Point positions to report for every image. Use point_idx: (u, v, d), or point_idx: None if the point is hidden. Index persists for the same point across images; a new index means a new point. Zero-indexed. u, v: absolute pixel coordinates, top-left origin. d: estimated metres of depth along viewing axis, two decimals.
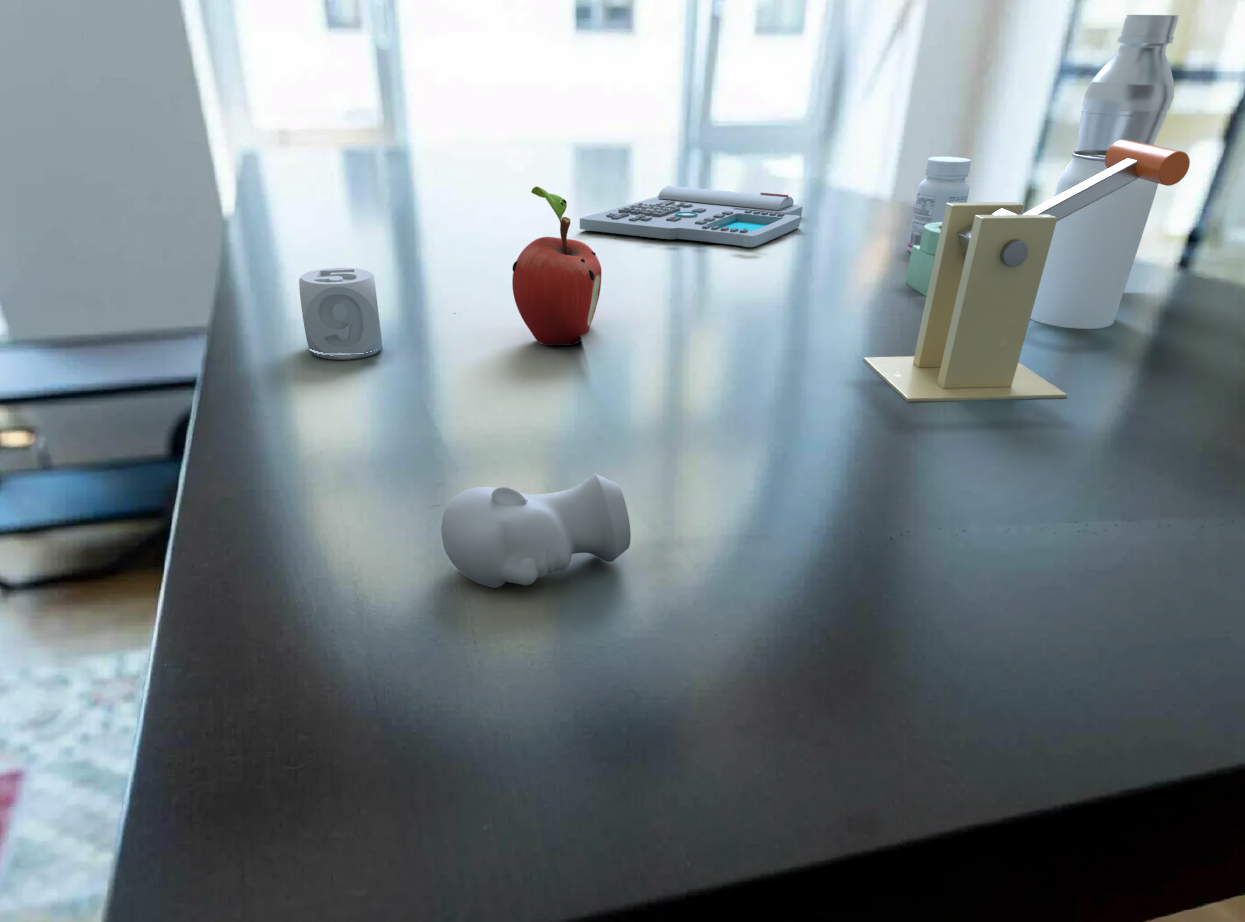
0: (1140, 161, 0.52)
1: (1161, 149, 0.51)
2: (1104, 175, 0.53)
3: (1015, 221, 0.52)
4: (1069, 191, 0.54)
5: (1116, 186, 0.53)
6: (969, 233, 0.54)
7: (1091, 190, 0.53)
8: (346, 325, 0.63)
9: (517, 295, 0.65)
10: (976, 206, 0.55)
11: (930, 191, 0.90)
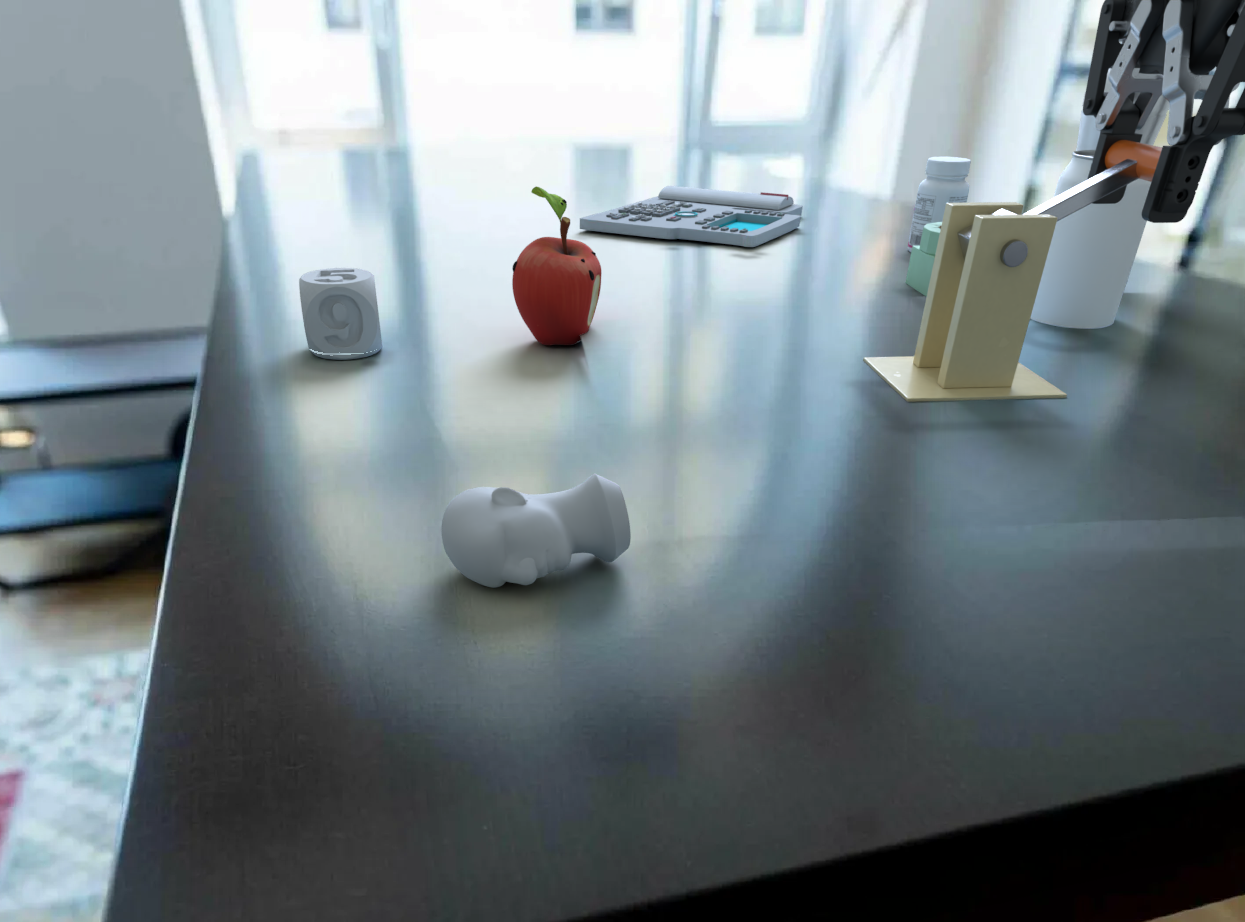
0: (1140, 161, 0.52)
1: (1161, 149, 0.51)
2: (1104, 175, 0.53)
3: (1015, 221, 0.52)
4: (1069, 191, 0.54)
5: (1116, 186, 0.53)
6: (969, 233, 0.54)
7: (1091, 190, 0.53)
8: (346, 325, 0.63)
9: (517, 295, 0.65)
10: (976, 206, 0.55)
11: (930, 191, 0.90)
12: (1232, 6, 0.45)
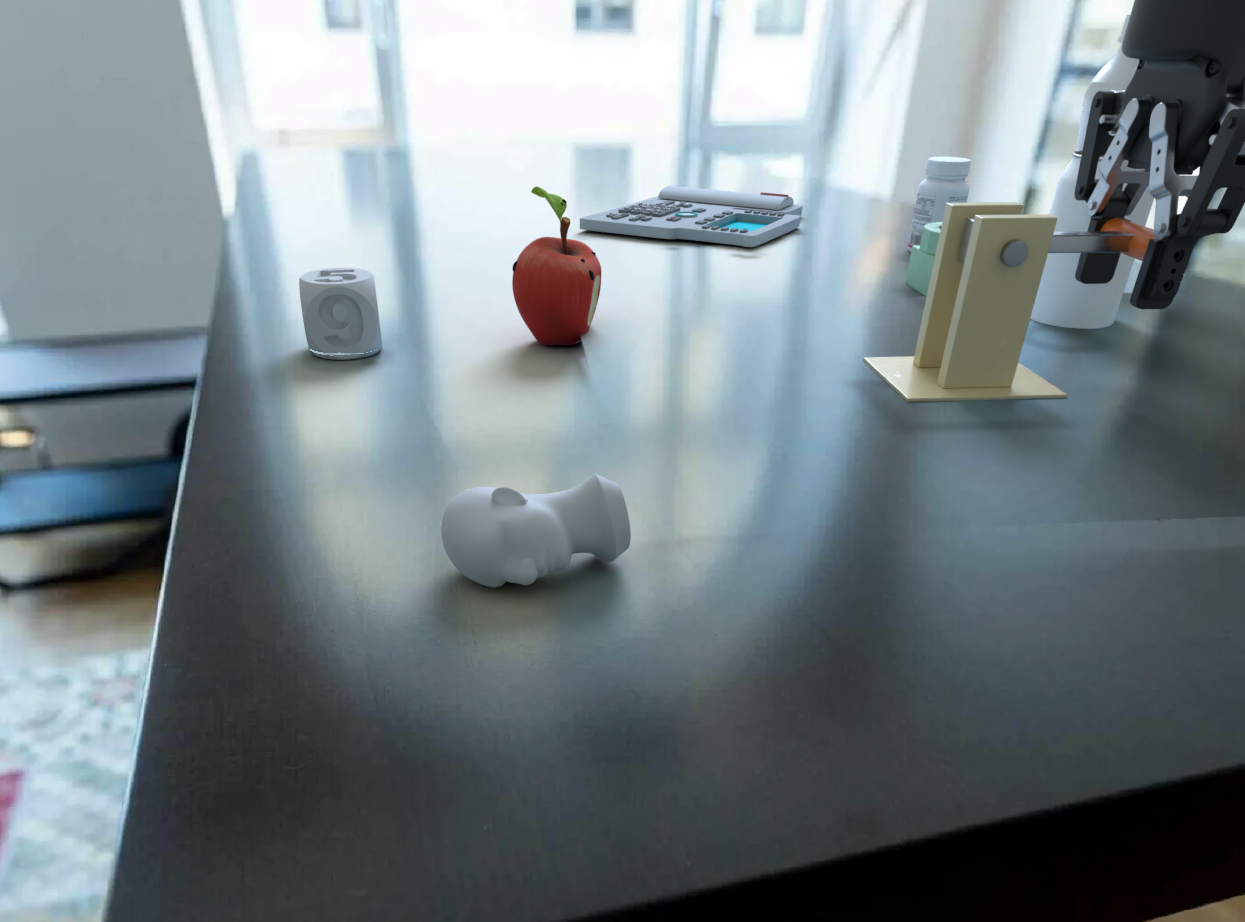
0: (1137, 235, 0.54)
1: None
2: (1103, 233, 0.55)
3: (1015, 221, 0.52)
4: (1071, 232, 0.55)
5: (1108, 248, 0.55)
6: None
7: (1089, 240, 0.55)
8: (346, 325, 0.63)
9: (517, 295, 0.65)
10: (976, 206, 0.55)
11: (930, 191, 0.90)
12: (1214, 116, 0.48)
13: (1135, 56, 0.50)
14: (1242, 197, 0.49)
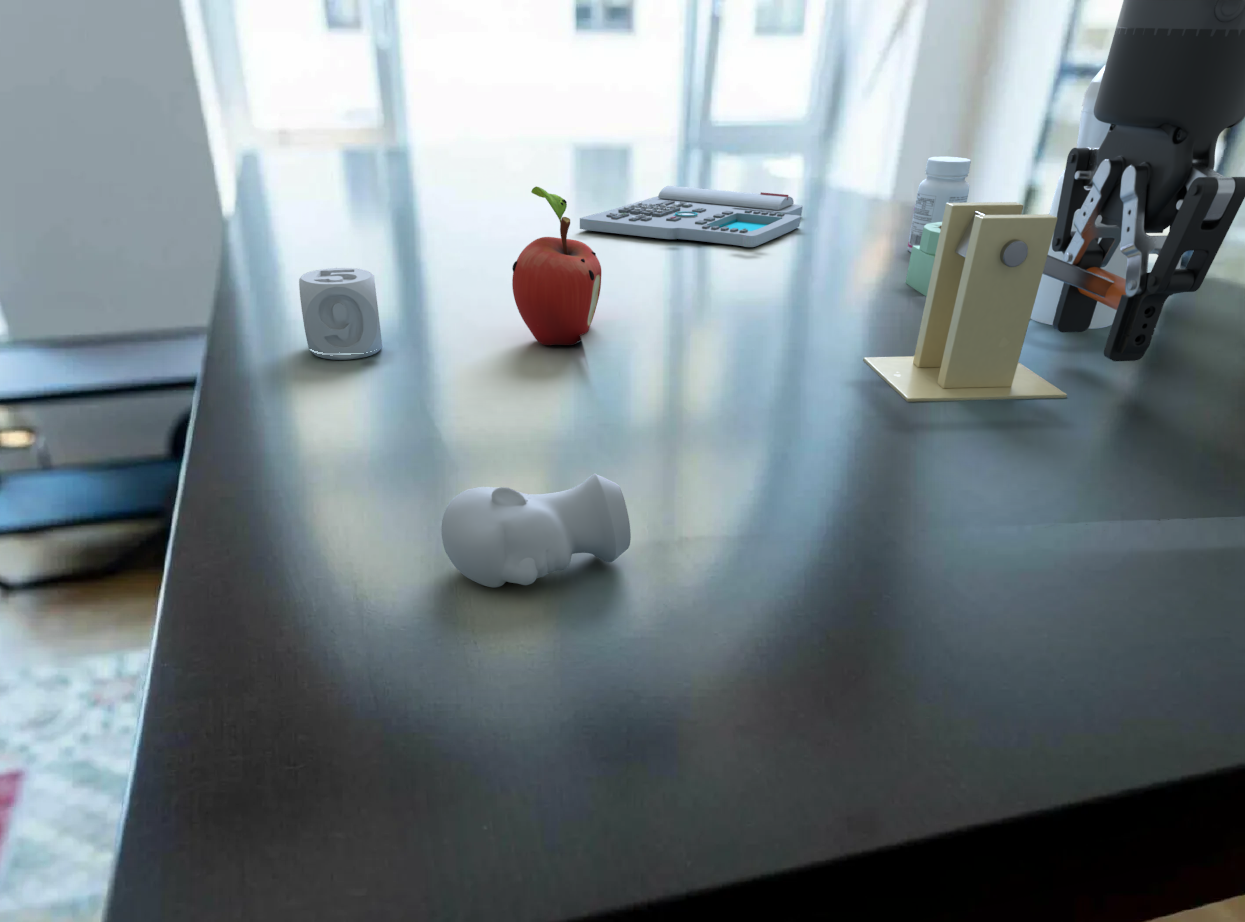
0: (1118, 282, 0.56)
1: None
2: (1089, 271, 0.56)
3: (1015, 221, 0.52)
4: None
5: (1089, 287, 0.56)
6: None
7: (1076, 272, 0.56)
8: (346, 325, 0.63)
9: (517, 295, 0.65)
10: (976, 206, 0.55)
11: (930, 191, 0.90)
12: (1181, 181, 0.50)
13: (1106, 121, 0.51)
14: (1209, 259, 0.50)
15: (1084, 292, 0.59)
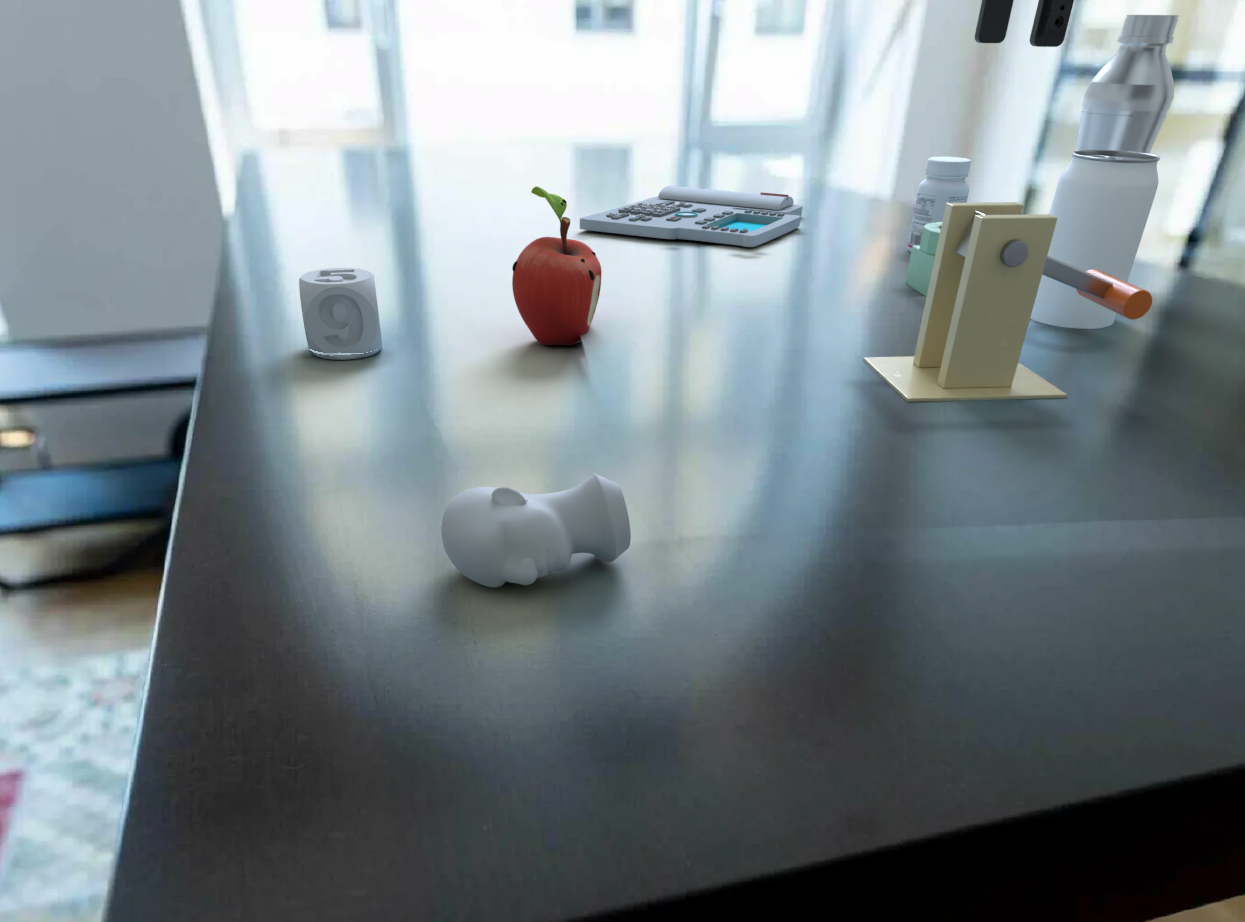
0: (1116, 284, 0.56)
1: None
2: (1088, 272, 0.56)
3: (1015, 221, 0.52)
4: None
5: (1088, 289, 0.56)
6: None
7: (1075, 273, 0.56)
8: (346, 325, 0.63)
9: (517, 295, 0.65)
10: (976, 206, 0.55)
11: (930, 191, 0.90)
12: None
13: None
14: None
15: (1083, 294, 0.59)
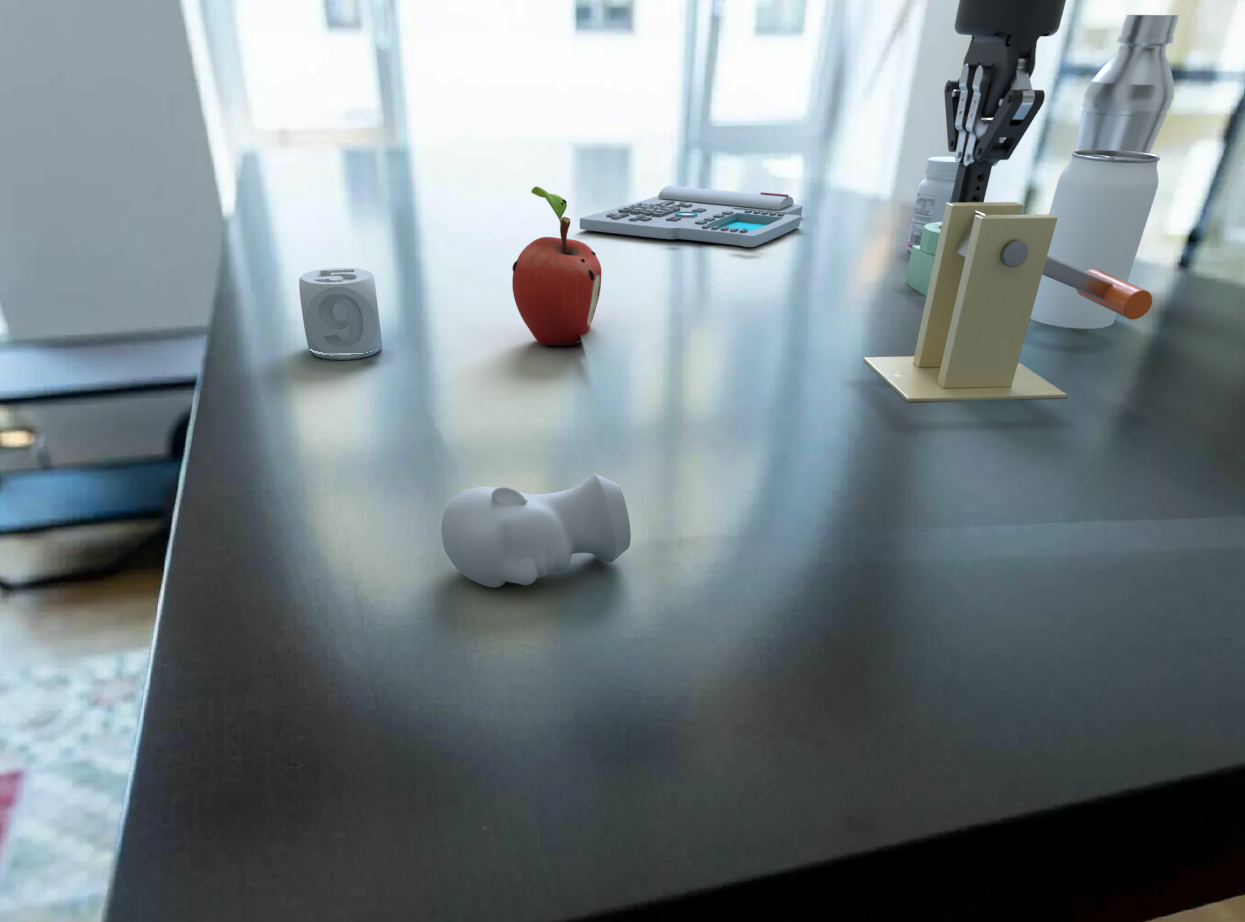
0: (1116, 284, 0.56)
1: None
2: (1088, 272, 0.56)
3: (1015, 221, 0.52)
4: None
5: (1088, 289, 0.56)
6: None
7: (1075, 273, 0.56)
8: (346, 325, 0.63)
9: (517, 295, 0.65)
10: (976, 206, 0.55)
11: (930, 191, 0.90)
12: (1011, 74, 0.69)
13: (961, 32, 0.71)
14: (1015, 142, 0.72)
15: (1083, 294, 0.59)
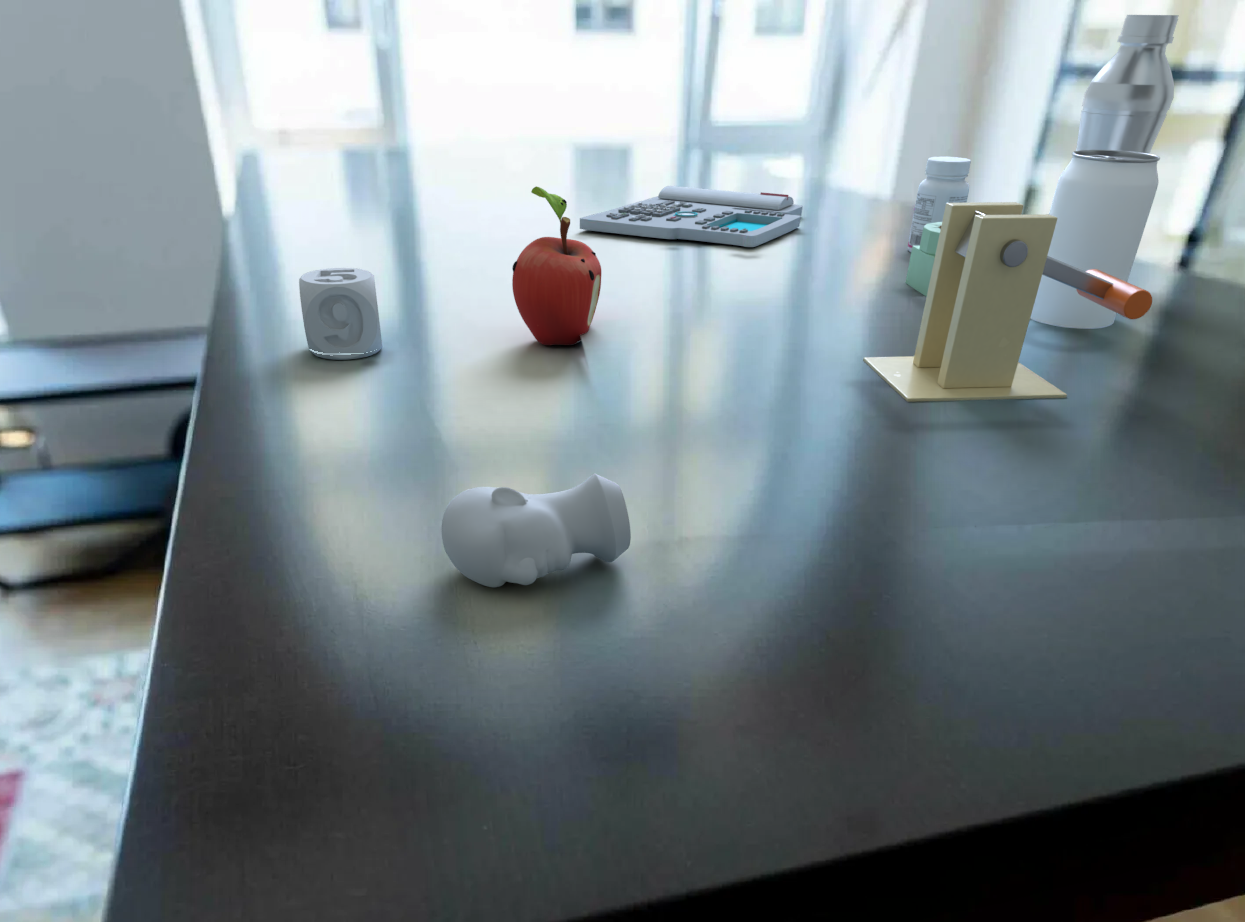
0: (1116, 284, 0.56)
1: None
2: (1088, 272, 0.56)
3: (1015, 221, 0.52)
4: None
5: (1088, 289, 0.56)
6: None
7: (1075, 273, 0.56)
8: (346, 325, 0.63)
9: (517, 295, 0.65)
10: (976, 206, 0.55)
11: (930, 191, 0.90)
12: None
13: None
14: None
15: (1083, 294, 0.59)
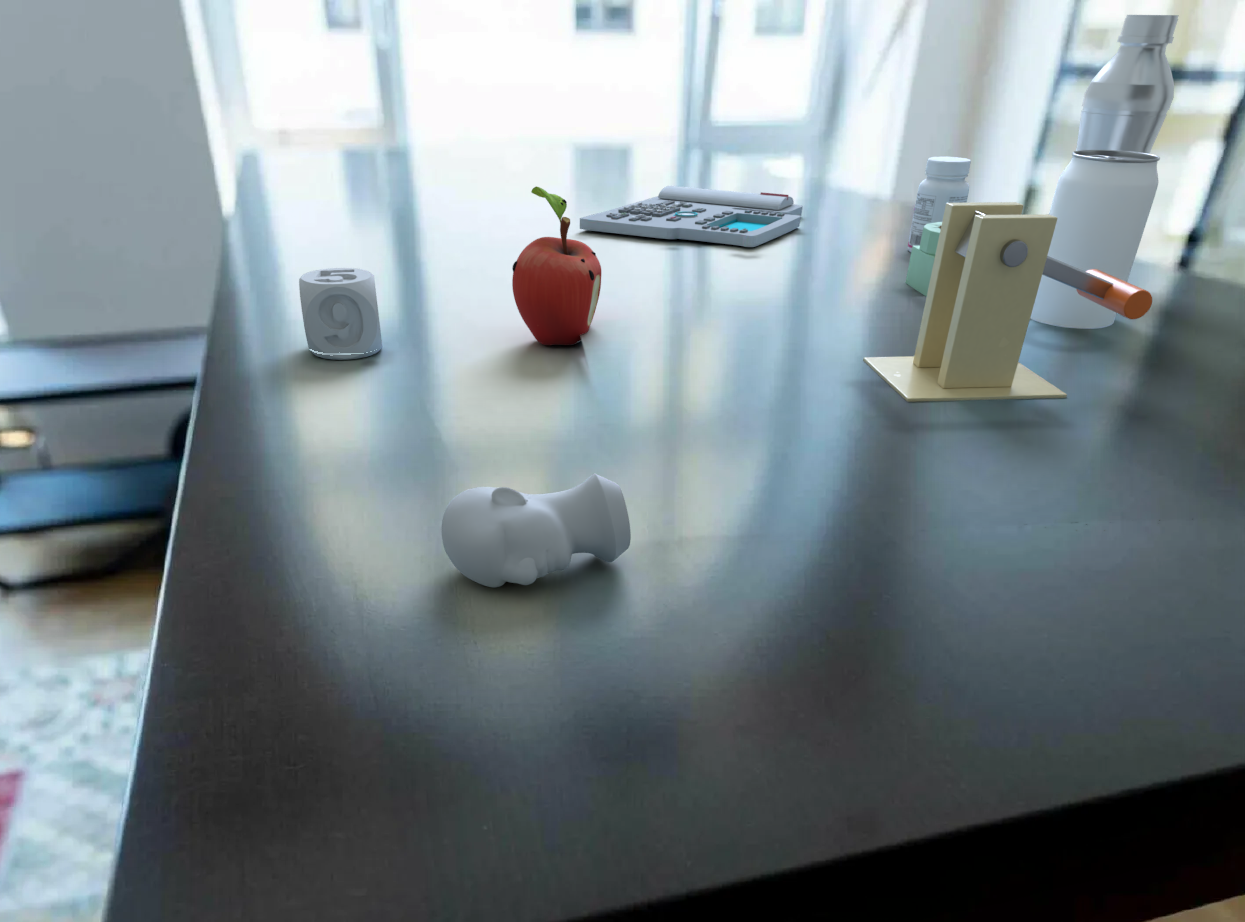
0: (1116, 284, 0.56)
1: None
2: (1088, 272, 0.56)
3: (1015, 221, 0.52)
4: None
5: (1088, 289, 0.56)
6: None
7: (1075, 273, 0.56)
8: (346, 325, 0.63)
9: (517, 295, 0.65)
10: (976, 206, 0.55)
11: (930, 191, 0.90)
12: None
13: None
14: None
15: (1083, 294, 0.59)
